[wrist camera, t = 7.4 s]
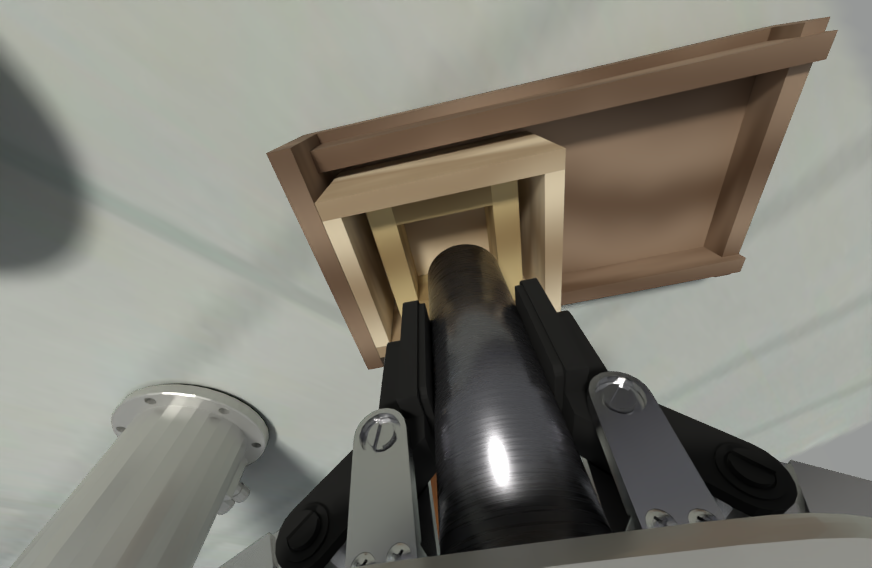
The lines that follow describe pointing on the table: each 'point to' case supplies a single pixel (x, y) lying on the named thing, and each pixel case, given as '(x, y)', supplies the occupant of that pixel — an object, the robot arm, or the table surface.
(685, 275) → the tray
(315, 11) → the table surface
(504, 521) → the handle peg
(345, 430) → the table surface
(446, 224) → the crate
